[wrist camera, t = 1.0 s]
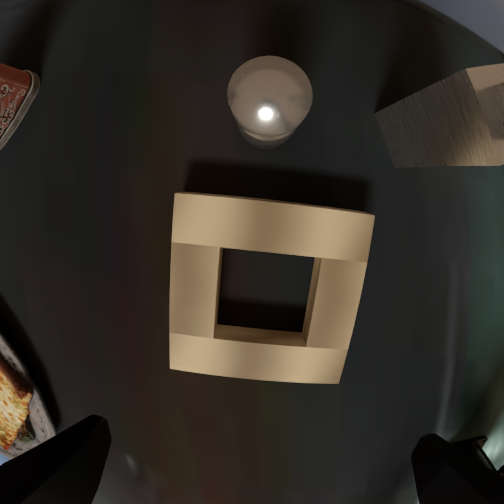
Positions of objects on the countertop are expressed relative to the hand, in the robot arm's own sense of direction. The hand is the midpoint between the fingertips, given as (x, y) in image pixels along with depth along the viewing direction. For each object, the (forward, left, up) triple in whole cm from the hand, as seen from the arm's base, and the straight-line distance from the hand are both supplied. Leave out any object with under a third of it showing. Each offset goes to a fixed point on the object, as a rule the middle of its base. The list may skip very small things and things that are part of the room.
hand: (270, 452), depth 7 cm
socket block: (0, 0, -13) cm, 13 cm away
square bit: (-8, -11, -13) cm, 19 cm away
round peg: (+1, -10, -13) cm, 17 cm away
